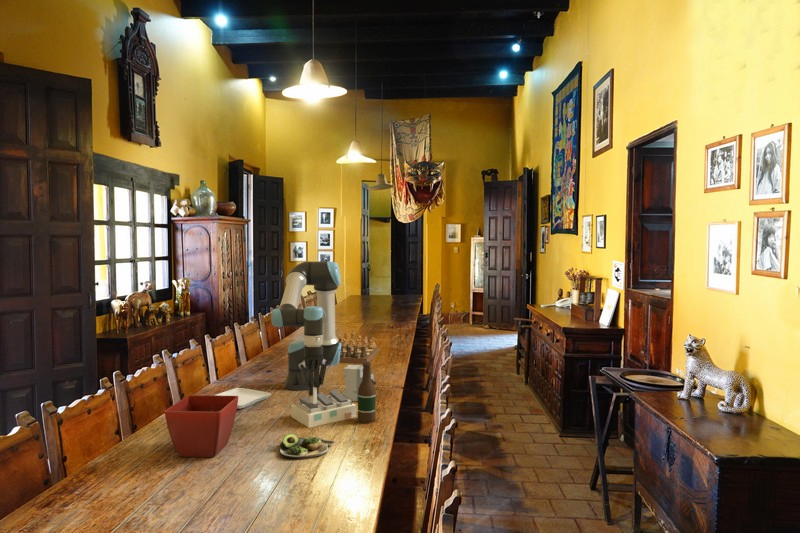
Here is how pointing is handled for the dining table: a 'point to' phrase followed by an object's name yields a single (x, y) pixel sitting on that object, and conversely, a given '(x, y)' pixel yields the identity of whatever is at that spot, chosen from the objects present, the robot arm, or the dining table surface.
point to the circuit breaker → (353, 381)
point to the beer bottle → (366, 396)
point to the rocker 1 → (308, 403)
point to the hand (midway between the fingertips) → (313, 403)
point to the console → (323, 412)
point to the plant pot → (201, 424)
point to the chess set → (357, 349)
